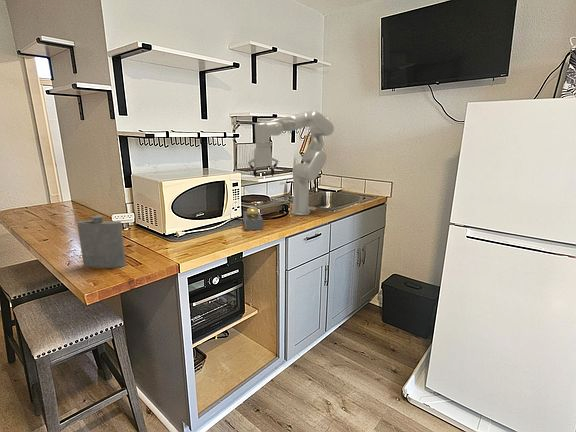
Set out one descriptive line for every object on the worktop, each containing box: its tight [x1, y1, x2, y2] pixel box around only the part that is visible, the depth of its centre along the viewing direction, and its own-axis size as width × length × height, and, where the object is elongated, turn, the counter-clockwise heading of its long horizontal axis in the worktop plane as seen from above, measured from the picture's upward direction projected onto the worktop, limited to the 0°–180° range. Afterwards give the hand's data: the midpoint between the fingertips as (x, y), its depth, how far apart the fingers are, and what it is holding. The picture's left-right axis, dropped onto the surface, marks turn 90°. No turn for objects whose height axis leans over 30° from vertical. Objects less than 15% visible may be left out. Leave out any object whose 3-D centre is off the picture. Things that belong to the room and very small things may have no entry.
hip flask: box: [76, 214, 127, 269], centre depth 125 cm, size 16×4×20 cm, turn 89°
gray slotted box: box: [242, 210, 264, 231], centre depth 184 cm, size 9×20×6 cm, turn 12°
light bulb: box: [246, 207, 259, 217], centre depth 183 cm, size 6×6×8 cm
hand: (263, 176), depth 189 cm, fingers open, 9 cm apart
